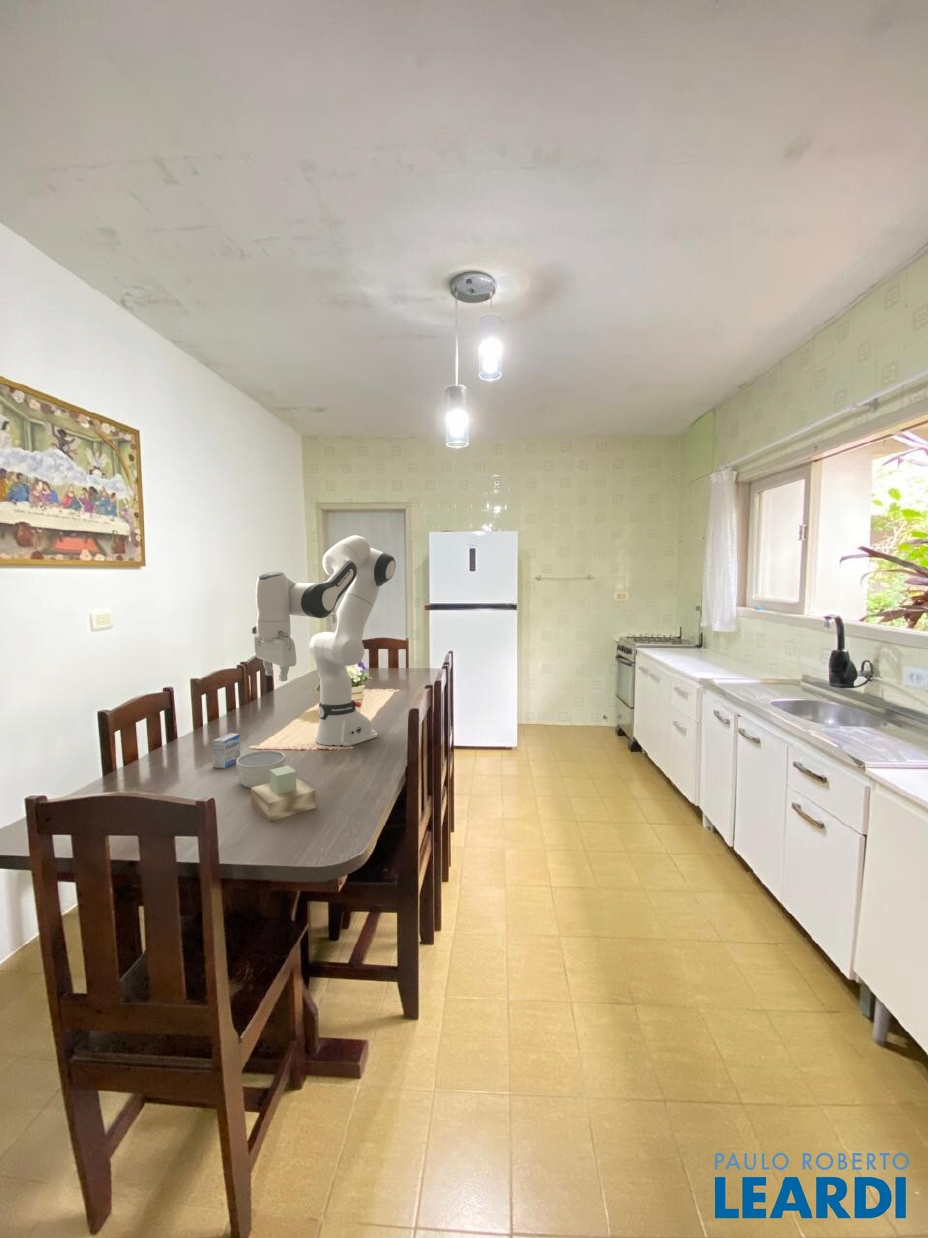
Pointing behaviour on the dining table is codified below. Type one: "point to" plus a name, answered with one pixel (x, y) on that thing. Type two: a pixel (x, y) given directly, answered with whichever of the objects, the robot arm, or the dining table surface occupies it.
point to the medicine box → (225, 750)
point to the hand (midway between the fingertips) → (276, 678)
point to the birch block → (282, 800)
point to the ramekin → (258, 767)
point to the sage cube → (283, 780)
